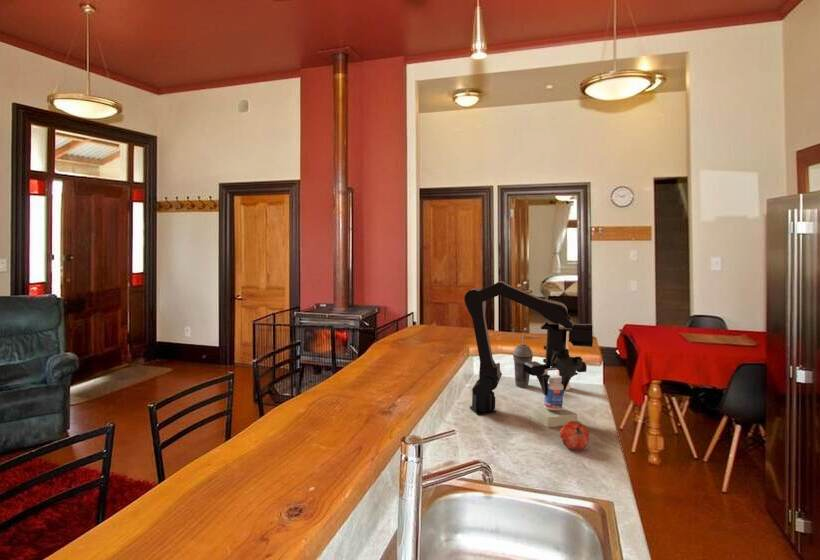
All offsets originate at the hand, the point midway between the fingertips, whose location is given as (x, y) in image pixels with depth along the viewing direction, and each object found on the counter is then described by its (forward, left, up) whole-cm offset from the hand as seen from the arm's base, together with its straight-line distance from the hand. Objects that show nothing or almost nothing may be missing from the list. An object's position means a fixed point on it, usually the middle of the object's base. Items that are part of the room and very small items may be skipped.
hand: (553, 394), depth 150 cm
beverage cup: (+7, +32, -8) cm, 34 cm away
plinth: (0, 0, -8) cm, 8 cm away
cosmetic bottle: (+20, +26, -8) cm, 34 cm away
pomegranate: (-5, -19, -8) cm, 21 cm away
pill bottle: (0, 0, -4) cm, 4 cm away
